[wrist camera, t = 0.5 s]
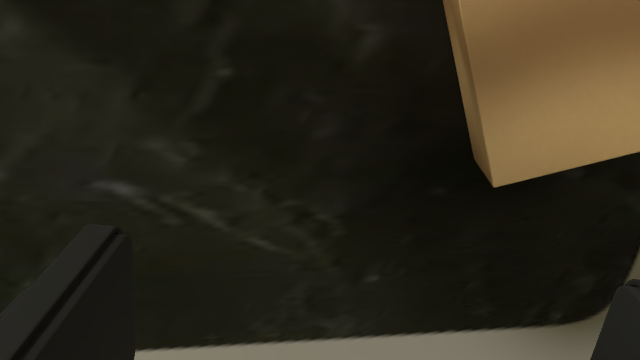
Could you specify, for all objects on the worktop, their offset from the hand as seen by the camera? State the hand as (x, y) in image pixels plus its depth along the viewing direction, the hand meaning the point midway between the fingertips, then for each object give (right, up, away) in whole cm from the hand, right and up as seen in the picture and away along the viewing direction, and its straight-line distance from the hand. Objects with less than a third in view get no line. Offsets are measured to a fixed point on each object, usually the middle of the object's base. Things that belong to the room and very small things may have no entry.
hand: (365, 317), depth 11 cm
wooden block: (+8, +10, +13) cm, 19 cm away
